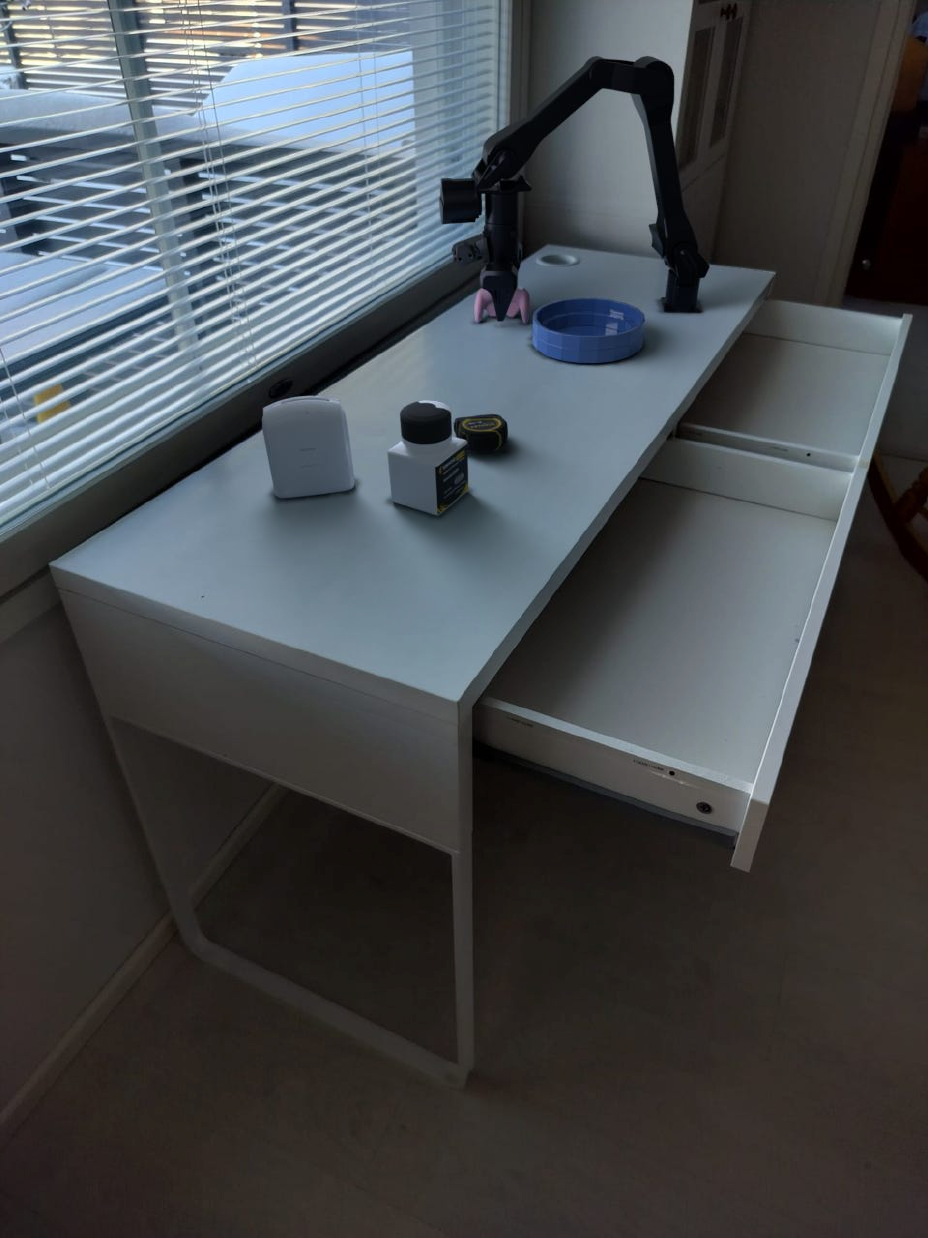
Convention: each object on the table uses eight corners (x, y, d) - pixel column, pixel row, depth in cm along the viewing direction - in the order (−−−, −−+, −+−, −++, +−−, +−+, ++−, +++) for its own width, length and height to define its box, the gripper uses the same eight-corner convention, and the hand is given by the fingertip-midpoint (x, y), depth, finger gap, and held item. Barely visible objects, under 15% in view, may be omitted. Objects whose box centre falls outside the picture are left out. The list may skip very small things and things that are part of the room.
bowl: (534, 322, 156) (535, 297, 154) (638, 323, 155) (641, 297, 152) (530, 363, 142) (531, 336, 140) (645, 365, 141) (648, 337, 138)
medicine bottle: (438, 517, 107) (433, 426, 99) (390, 502, 110) (382, 412, 102) (469, 491, 112) (467, 401, 104) (422, 477, 115) (417, 389, 107)
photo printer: (274, 502, 111) (257, 410, 103) (273, 485, 114) (257, 395, 106) (356, 493, 112) (345, 401, 104) (353, 476, 115) (343, 386, 107)
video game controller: (529, 325, 160) (531, 284, 158) (529, 322, 155) (530, 280, 154) (475, 324, 160) (476, 284, 159) (473, 321, 156) (473, 279, 155)
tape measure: (501, 433, 124) (501, 408, 121) (512, 455, 118) (513, 430, 116) (453, 438, 123) (452, 413, 121) (462, 461, 118) (461, 435, 115)
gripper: (459, 205, 156) (462, 295, 166) (447, 236, 142) (451, 332, 151) (522, 205, 155) (521, 295, 165) (517, 236, 141) (516, 332, 150)
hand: (501, 313), depth 158 cm, fingers open, 7 cm apart
